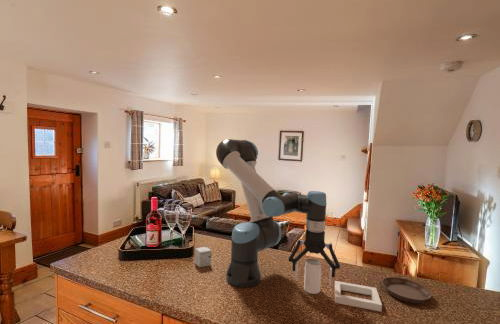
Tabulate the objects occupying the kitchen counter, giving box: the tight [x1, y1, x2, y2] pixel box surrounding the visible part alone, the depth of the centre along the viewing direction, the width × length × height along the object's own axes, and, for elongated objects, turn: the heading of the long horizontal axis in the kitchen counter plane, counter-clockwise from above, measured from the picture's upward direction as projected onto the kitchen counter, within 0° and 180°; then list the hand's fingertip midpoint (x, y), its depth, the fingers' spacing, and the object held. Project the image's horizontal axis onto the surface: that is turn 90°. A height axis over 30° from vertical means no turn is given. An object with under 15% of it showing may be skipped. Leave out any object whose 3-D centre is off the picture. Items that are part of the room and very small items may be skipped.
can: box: [303, 258, 322, 295], centre depth 110 cm, size 6×6×12 cm
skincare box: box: [194, 246, 212, 268], centre depth 131 cm, size 6×6×7 cm
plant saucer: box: [381, 276, 432, 304], centre depth 112 cm, size 18×18×3 cm
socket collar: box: [334, 280, 383, 313], centre depth 106 cm, size 16×13×2 cm
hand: (312, 281), depth 110 cm, fingers open, 13 cm apart
